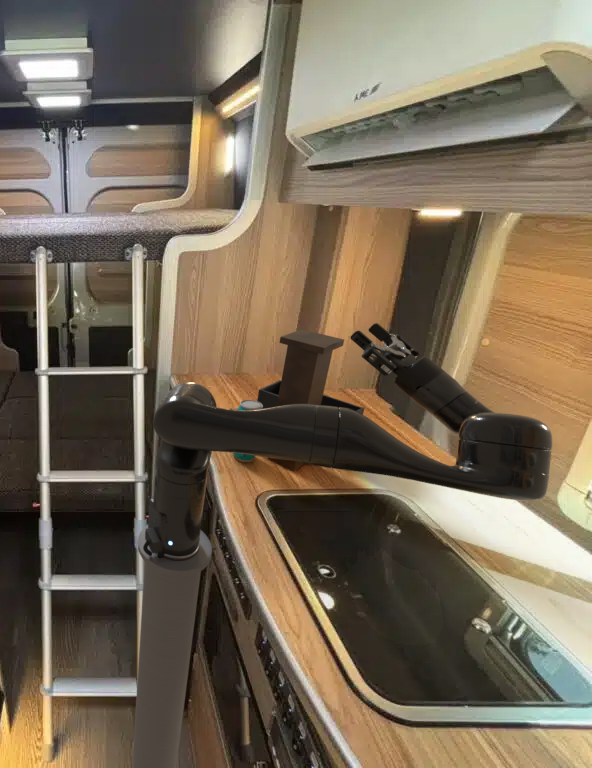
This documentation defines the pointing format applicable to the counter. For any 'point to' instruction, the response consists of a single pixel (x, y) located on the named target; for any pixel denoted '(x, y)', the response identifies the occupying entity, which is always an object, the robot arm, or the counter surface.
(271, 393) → the black storage bin
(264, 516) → the counter surface
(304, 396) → the pedestal
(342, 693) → the counter surface
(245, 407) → the beverage can
